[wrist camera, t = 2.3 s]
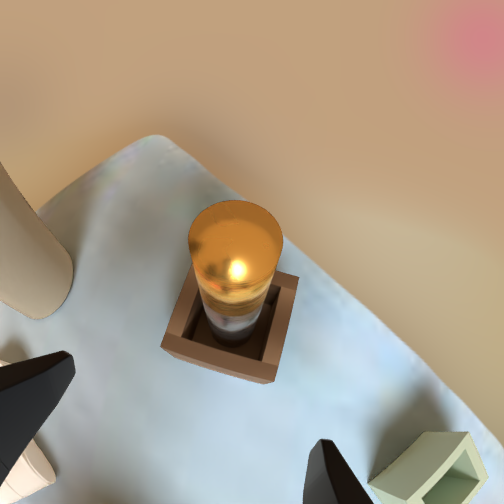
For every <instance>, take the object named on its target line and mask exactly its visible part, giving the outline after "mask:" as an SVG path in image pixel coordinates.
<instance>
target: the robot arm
mask: <svg viewBox="0 0 504 504" xmlns="http://www.w3.org/2000/svg"><path fill="white" fill-rule="evenodd" d="M74 375H75V365H74V359H73V356H72V355H71V354H69V353H68V352H66V351H59V352H55V353H51V354H48V355H44V356H40V357H36V358H33V359H29V360H25V361H21V362H17V363H13V364H9V365H5V366H1V367H0V487H1V485H2V484H3V482H4V480H5V479H6V477H7V476H8V474H9V473H10V471H11V469H12V468H13V466H14V465H15V463H16V462H17V460H18V459H19V457H20V456H21V454H22V453H23V451H24V450H25V448H26V447H27V446H28V444H29V443H30V441H31V440H32V438H33V437H34V436H35V434H36V433H37V431H38V430H39V429H40V427H41V426H42V424H43V423H44V422H45V420H46V419H47V418H48V416H49V415H50V414H51V412H52V411H53V410H54V408H55V407H56V406H57V404H58V403H59V401H60V399H61V398H62V396H63V394H64V392H65V391H66V389H67V387H68V386H69V384H70V382H71V381H72V379H73V377H74ZM303 504H374V503H373V502H372V500H371V499H370V497H369V496H368V494H367V493H366V491H365V490H364V488H363V487H362V485H361V484H360V482H359V481H358V479H357V478H356V476H355V475H354V473H353V472H352V470H351V469H350V467H349V466H348V464H347V462H346V461H345V459H344V458H343V456H342V455H341V453H340V452H339V450H338V448H337V447H336V445H335V444H334V442H333V441H332V440H329V439H320V440H319V441H318V442H317V443H316V445H315V446H314V447H313V449H312V450H311V452H310V454H309V459H308V466H307V472H306V478H305V484H304V491H303Z"/></svg>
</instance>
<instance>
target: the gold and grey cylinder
mask: <svg viewBox="0 0 504 504" xmlns="http://www.w3.org/2000/svg"><path fill="white" fill-rule="evenodd" d="M188 244H189V250H190V254H191V258H192V262H193V266H194V270H195V274H196V278H197V282H198V286H199V290H200V294H201V298H202V301H203V305H204V309H205V313H206V316H207V320H208V323H209V327H210V330H211V334H212V336H213V338H214V339H215V340H216V342H218V343H219V344H220V345H222V346H224V347H228V348H236V347H240V346H242V345H244V344H245V343H246V342H248V340H249V339H250V338H251V336H252V333H253V331H254V328H255V325H256V322H257V320H258V317H259V314H260V311H261V309H262V306H263V303H264V300H265V297H266V295H267V292H268V289H269V286H270V283H271V281H272V278H273V275H274V272H275V269H276V266H277V263H278V260H279V258H280V255H281V251H282V247H283V236H282V231H281V229H280V226H279V224H278V223H277V221H276V220H275V218H274V217H273V216H272V215H271V214H270V213H269V212H268V211H267V210H265V209H264V208H262V207H260V206H258V205H256V204H253V203H250V202H247V201H240V200H229V201H223V202H219V203H216V204H214V205H212V206H210V207H208V208H206V209H205V210H204V211H202V212H201V213H200V214H199V215H198V216H197V217H196V219H195V220H194V222H193V224H192V226H191V228H190V231H189V236H188Z"/></svg>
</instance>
